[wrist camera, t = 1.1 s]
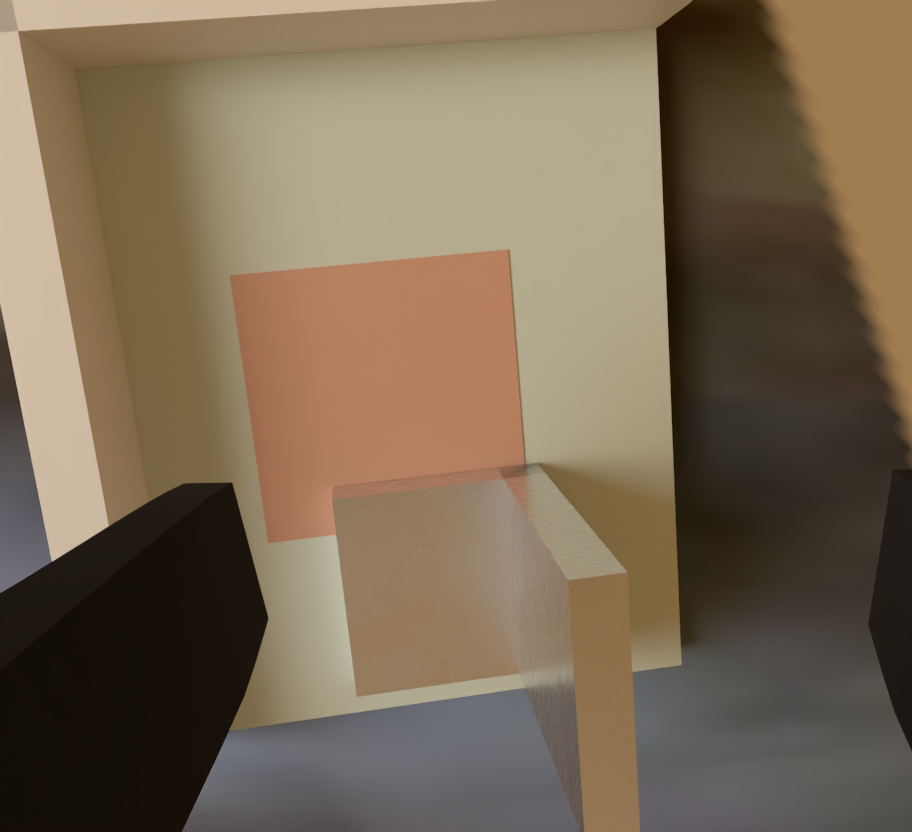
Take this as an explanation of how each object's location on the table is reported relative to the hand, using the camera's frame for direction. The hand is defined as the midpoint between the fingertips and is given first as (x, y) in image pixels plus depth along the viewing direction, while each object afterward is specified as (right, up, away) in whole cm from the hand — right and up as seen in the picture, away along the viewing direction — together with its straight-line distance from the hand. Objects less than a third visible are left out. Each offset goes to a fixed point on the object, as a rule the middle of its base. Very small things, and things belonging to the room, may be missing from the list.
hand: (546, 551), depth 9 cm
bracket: (-1, -2, +11) cm, 12 cm away
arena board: (-3, +3, +11) cm, 12 cm away
